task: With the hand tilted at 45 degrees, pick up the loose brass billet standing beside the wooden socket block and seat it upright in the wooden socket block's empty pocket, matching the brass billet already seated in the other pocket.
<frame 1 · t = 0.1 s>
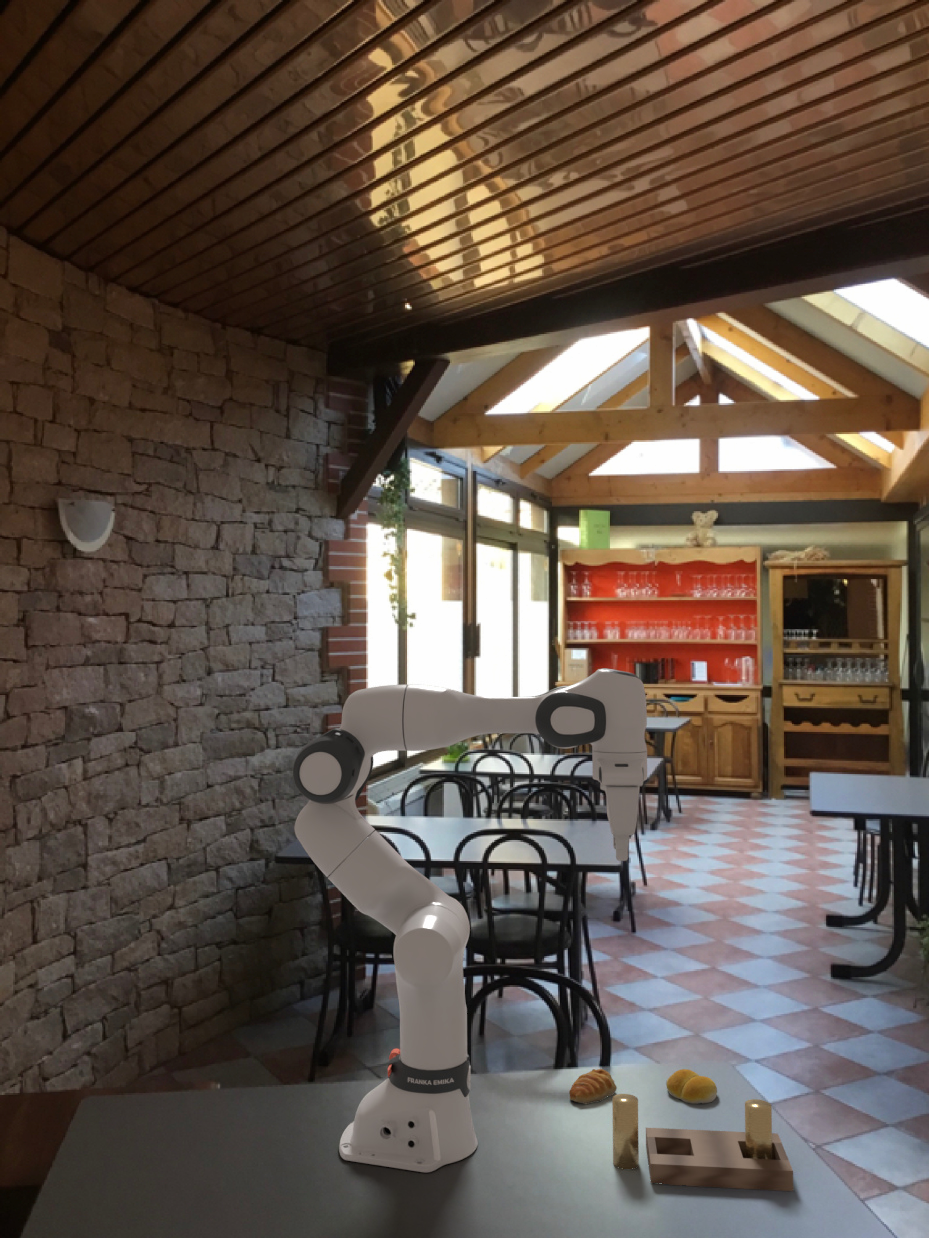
hand: (620, 854, 168), 48 cm above the table, tool pointing down, fingers open, 8 cm apart
pastry: (592, 1096, 189), on the table
seated billet: (759, 1169, 161), resting in wooden socket block
wooden socket block: (716, 1167, 162), on the table
bread roll: (691, 1096, 189), on the table
loose billet: (625, 1163, 163), on the table
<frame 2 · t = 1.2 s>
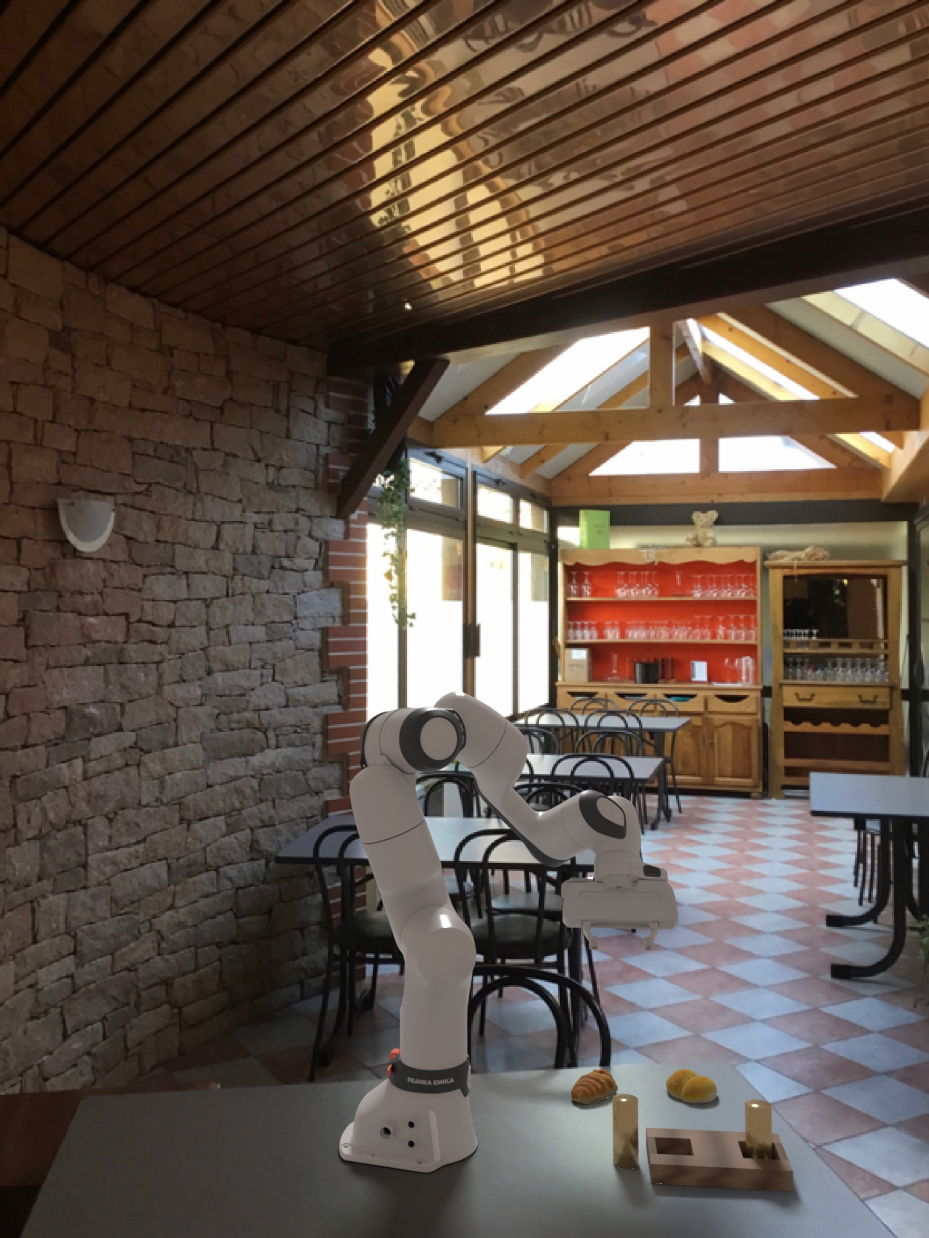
hand: (620, 948, 178), 30 cm above the table, tool tilted 45°, fingers open, 8 cm apart
nothing on the table moved.
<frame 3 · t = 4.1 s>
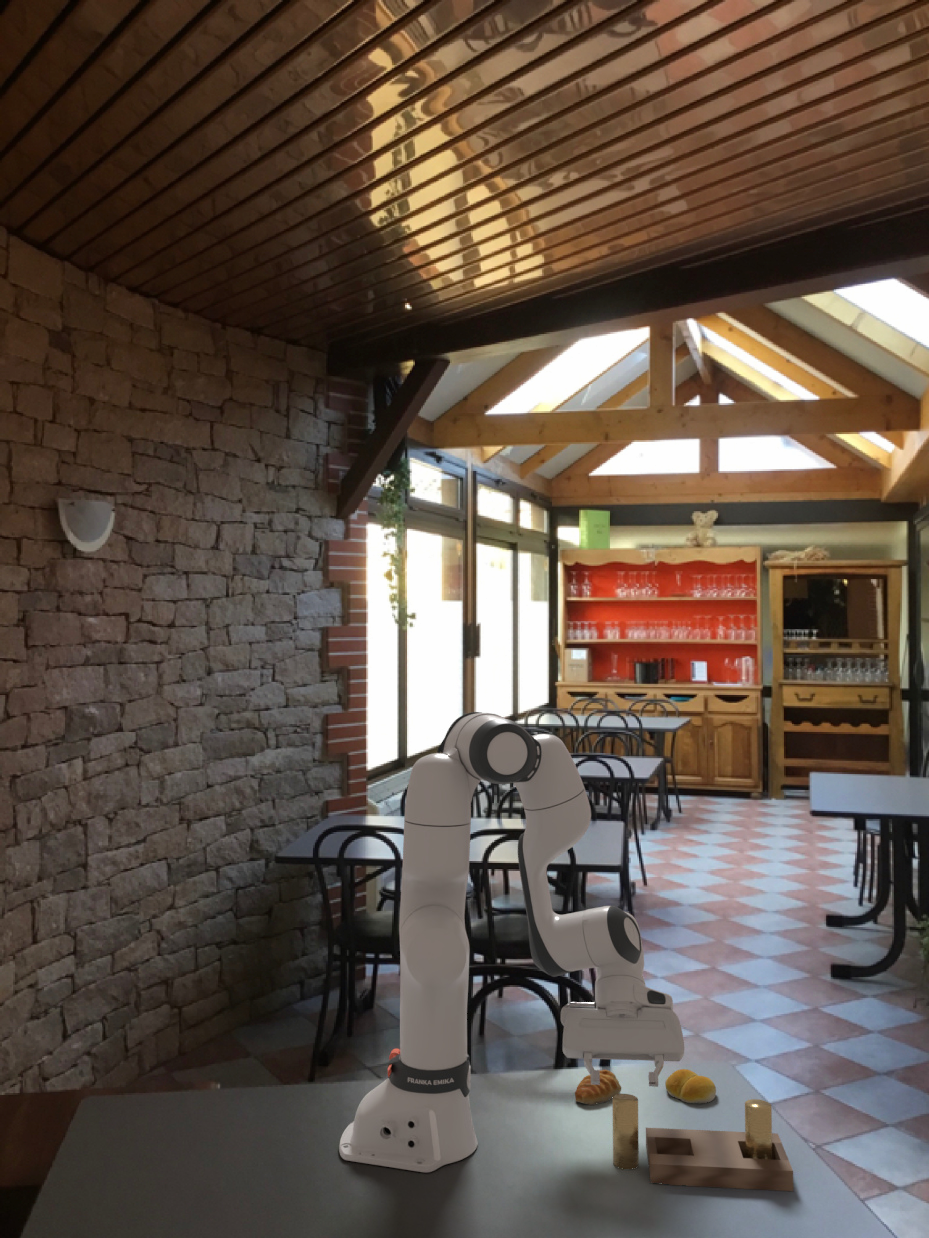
hand: (624, 1084, 169), 10 cm above the table, tool tilted 45°, fingers open, 8 cm apart
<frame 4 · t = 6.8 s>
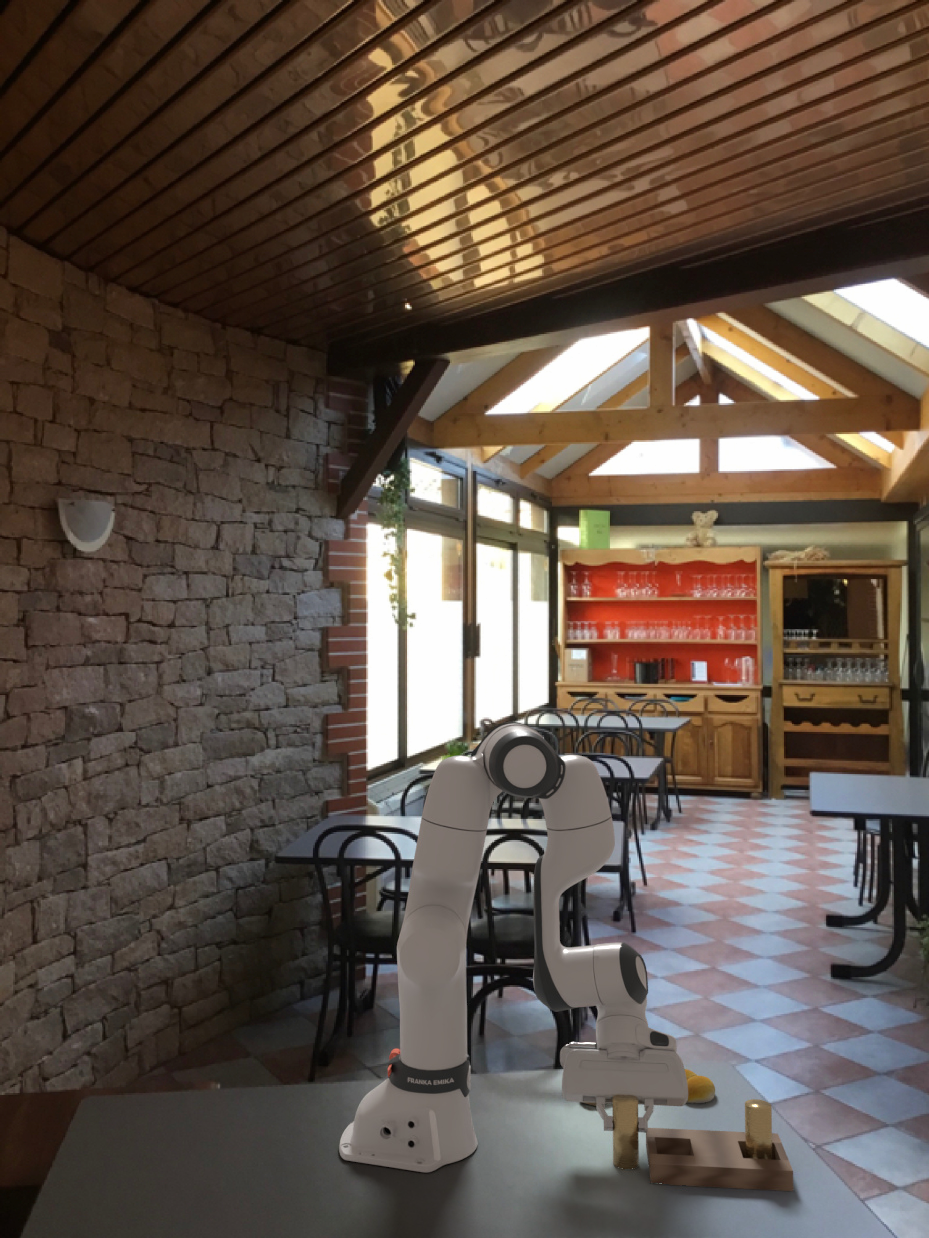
hand: (625, 1130, 163), 5 cm above the table, tool tilted 45°, fingers closed on loose billet, 4 cm apart
loose billet: (625, 1163, 163), on the table, touching gripper
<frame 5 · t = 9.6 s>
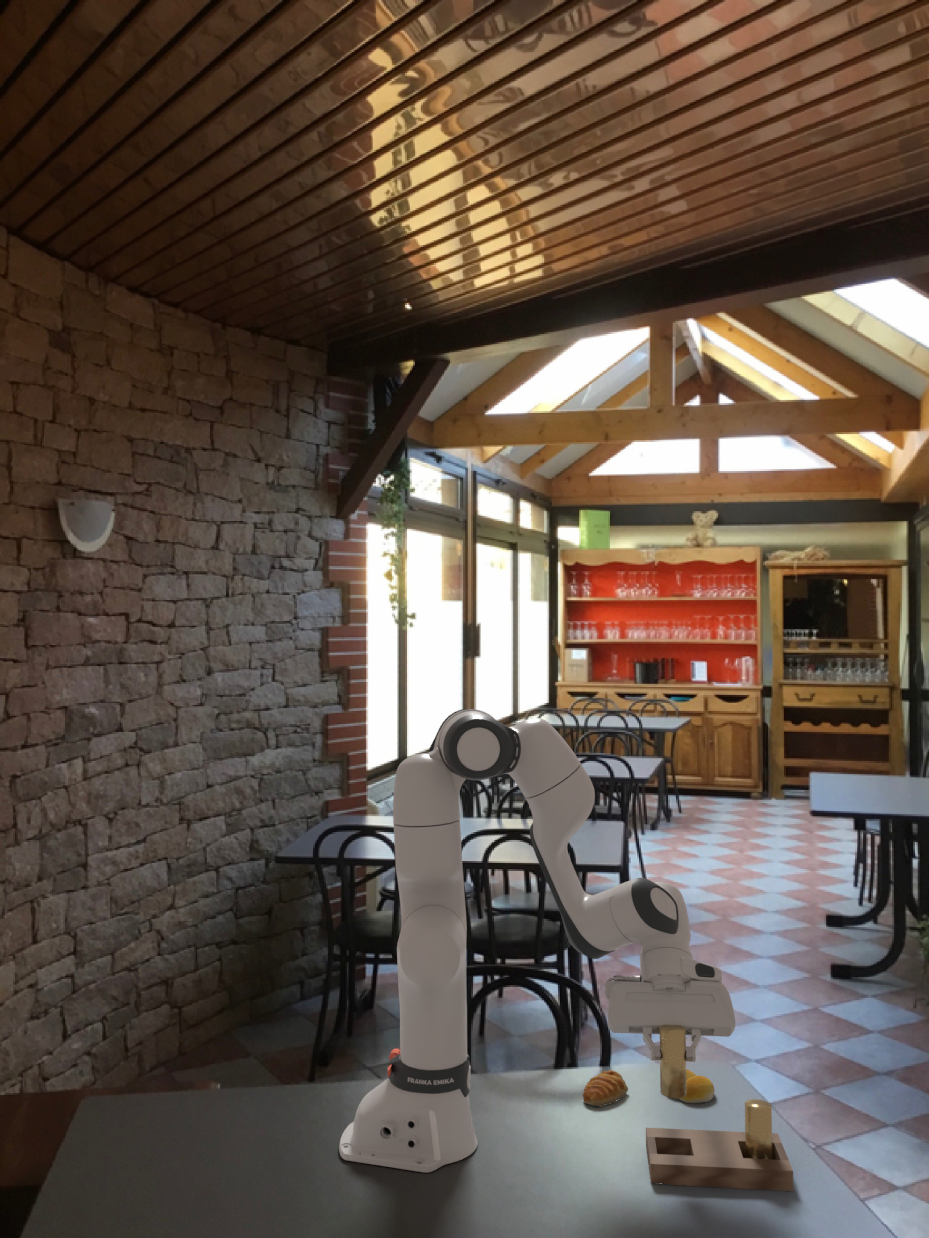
hand: (673, 1059, 163), 17 cm above the table, tool tilted 45°, fingers closed on loose billet, 4 cm apart
loose billet: (673, 1092, 163), point 11 cm above the table, touching gripper
when the fingers open (6 cm above the table, at t = 12.5 s): loose billet stays where it is, resting in wooden socket block.
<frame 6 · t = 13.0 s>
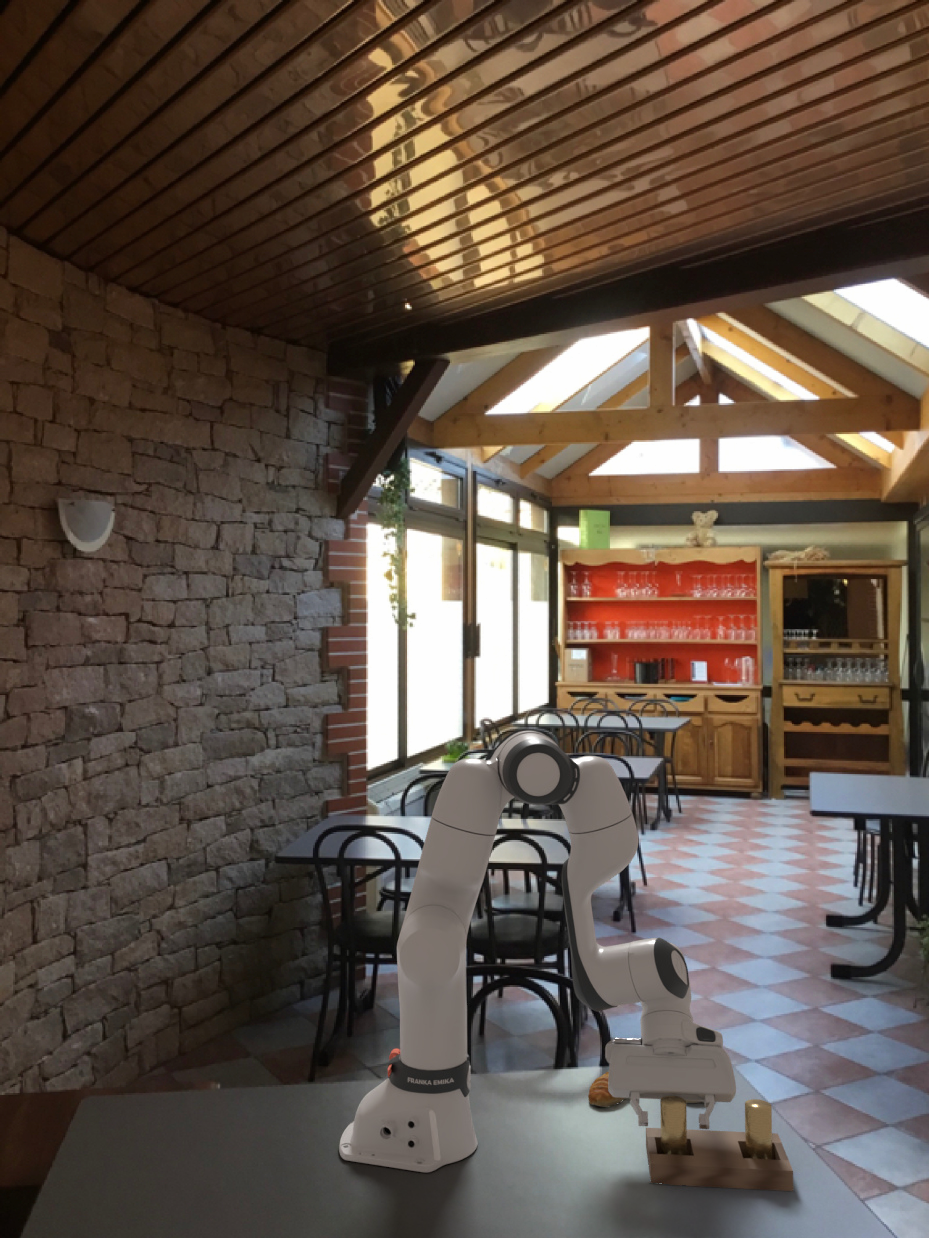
hand: (673, 1126, 162), 6 cm above the table, tool tilted 45°, fingers open, 8 cm apart
loose billet: (674, 1165, 163), resting in wooden socket block
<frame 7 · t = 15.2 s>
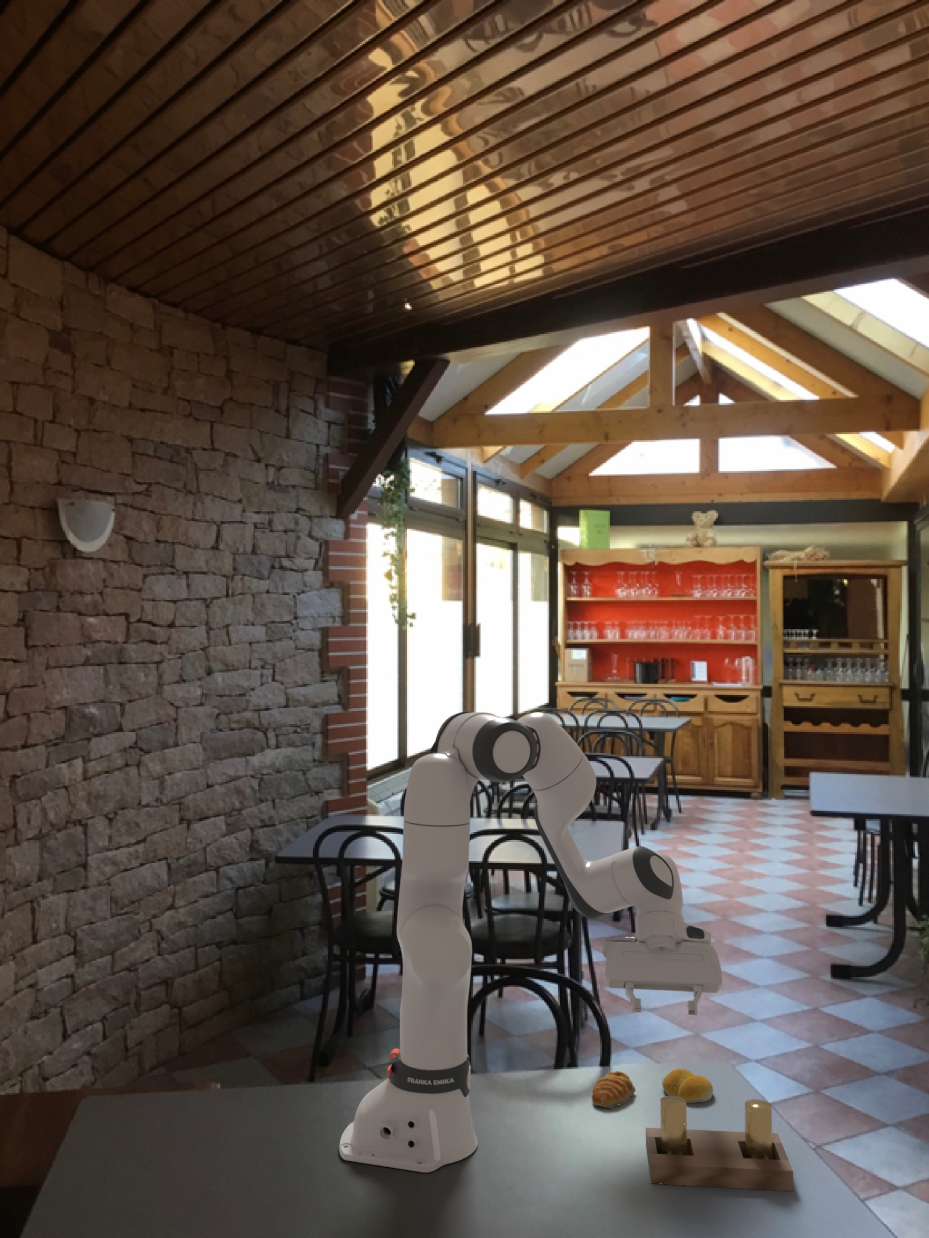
hand: (664, 1011, 177), 19 cm above the table, tool tilted 45°, fingers open, 8 cm apart
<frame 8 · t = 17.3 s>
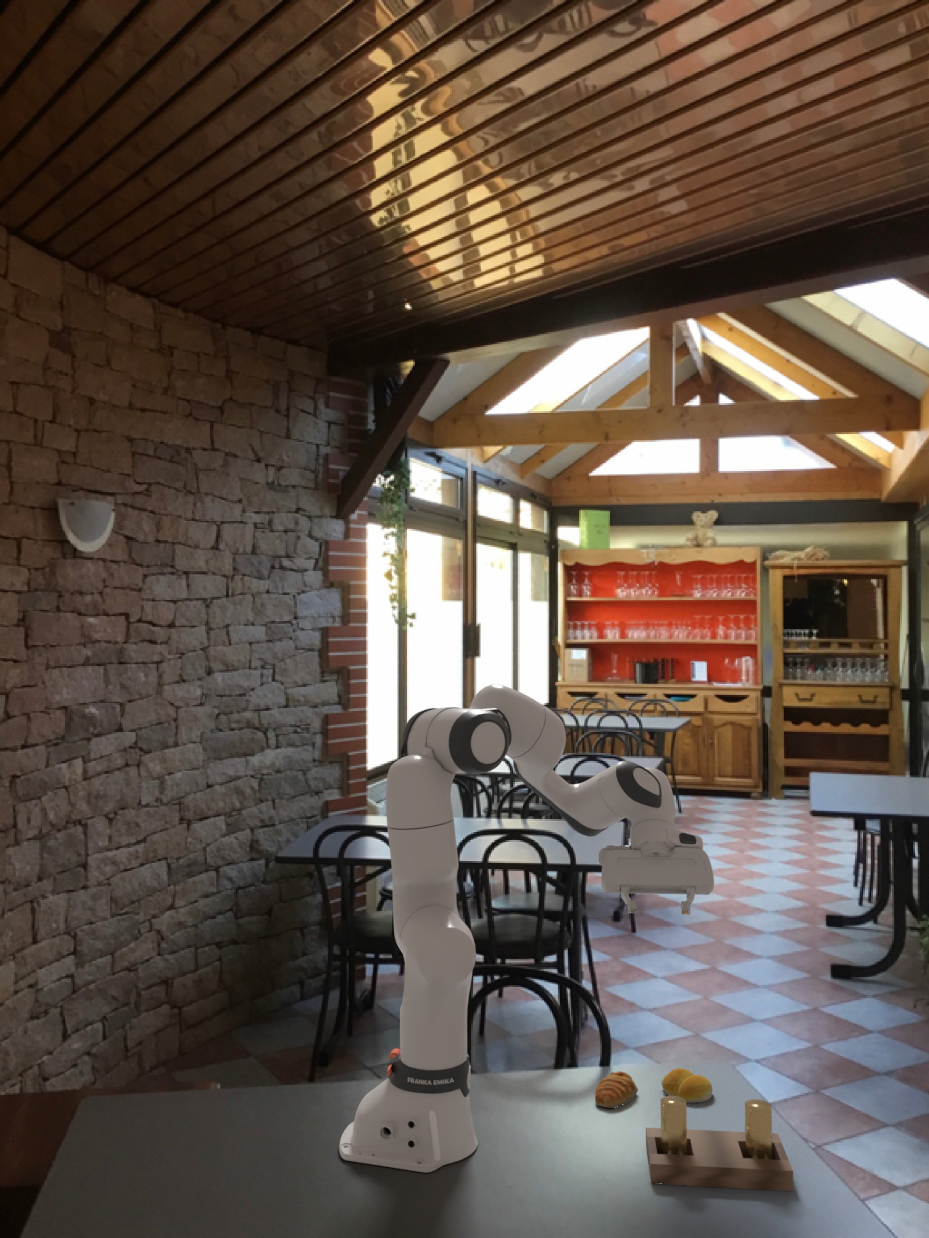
hand: (659, 912, 184), 34 cm above the table, tool tilted 45°, fingers open, 8 cm apart
at the end: loose billet 0.0 cm from the target spot on the wooden socket block, point 0.0 cm above the wooden socket block's base; loose billet tilted 0°; seated billet moved 0.0 cm from its start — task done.
